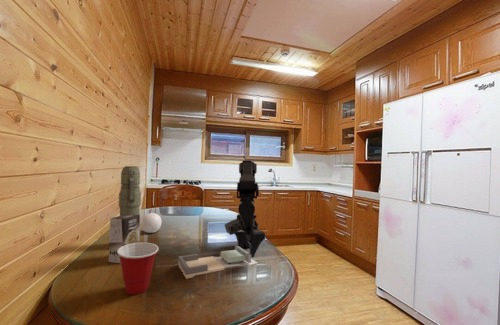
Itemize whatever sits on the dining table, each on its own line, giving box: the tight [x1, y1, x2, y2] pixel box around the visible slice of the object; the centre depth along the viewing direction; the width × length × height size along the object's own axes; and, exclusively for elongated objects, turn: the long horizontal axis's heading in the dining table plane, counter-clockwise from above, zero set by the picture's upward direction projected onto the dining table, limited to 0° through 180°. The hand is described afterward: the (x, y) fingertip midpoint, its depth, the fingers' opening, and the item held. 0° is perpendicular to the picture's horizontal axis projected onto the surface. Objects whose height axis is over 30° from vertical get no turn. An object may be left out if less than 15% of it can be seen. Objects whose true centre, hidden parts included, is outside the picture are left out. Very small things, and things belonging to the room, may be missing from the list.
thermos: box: [118, 165, 142, 243], centre depth 110 cm, size 9×12×35 cm
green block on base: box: [219, 244, 252, 264], centre depth 92 cm, size 8×12×4 cm, turn 28°
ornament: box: [140, 209, 163, 234], centre depth 131 cm, size 10×10×12 cm
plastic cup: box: [117, 242, 159, 296], centre depth 70 cm, size 11×11×12 cm
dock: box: [177, 253, 258, 280], centre depth 89 cm, size 26×12×3 cm, turn 118°
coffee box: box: [108, 214, 141, 264], centre depth 94 cm, size 9×6×16 cm
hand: (246, 253), depth 94 cm, fingers open, 9 cm apart
